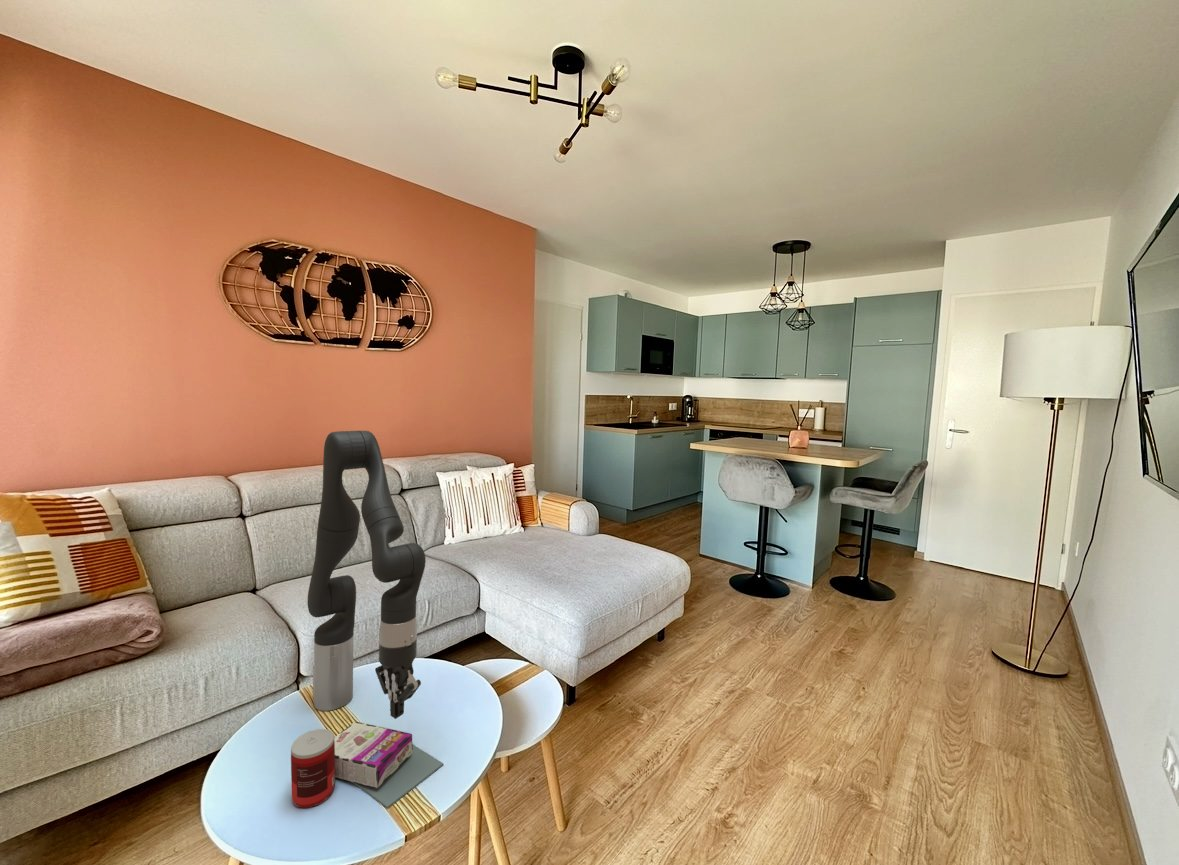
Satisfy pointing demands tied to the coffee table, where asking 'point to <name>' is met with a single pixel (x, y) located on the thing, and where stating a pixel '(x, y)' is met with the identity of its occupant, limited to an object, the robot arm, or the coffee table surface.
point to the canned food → (312, 767)
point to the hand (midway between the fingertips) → (397, 715)
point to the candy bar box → (370, 753)
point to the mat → (404, 778)
